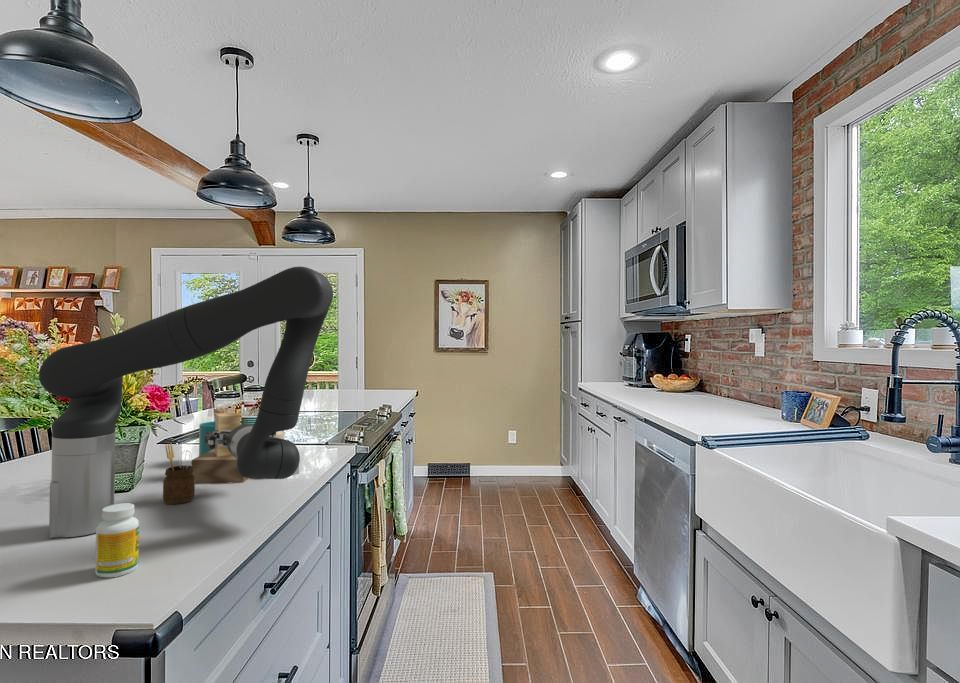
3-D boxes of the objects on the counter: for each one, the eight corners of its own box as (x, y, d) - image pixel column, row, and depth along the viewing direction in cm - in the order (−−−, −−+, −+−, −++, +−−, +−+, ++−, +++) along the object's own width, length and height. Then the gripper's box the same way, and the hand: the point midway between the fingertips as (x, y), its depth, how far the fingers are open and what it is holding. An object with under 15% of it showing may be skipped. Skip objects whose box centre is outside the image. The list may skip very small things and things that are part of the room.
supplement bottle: (91, 570, 79) (92, 506, 79) (133, 560, 83) (134, 499, 83) (100, 582, 75) (101, 515, 75) (143, 570, 79) (144, 507, 79)
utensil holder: (177, 506, 109) (178, 448, 109) (155, 502, 111) (155, 446, 111) (201, 498, 115) (201, 443, 115) (179, 495, 117) (179, 441, 117)
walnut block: (191, 484, 127) (191, 460, 127) (213, 471, 140) (213, 448, 140) (243, 484, 128) (243, 459, 128) (259, 470, 141) (260, 448, 141)
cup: (196, 471, 138) (196, 428, 138) (200, 461, 149) (201, 421, 149) (234, 468, 142) (234, 426, 142) (235, 458, 153) (236, 420, 153)
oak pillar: (217, 456, 130) (218, 416, 130) (214, 453, 134) (215, 413, 134) (239, 454, 133) (240, 415, 133) (235, 451, 137) (236, 412, 137)
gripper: (285, 423, 115) (267, 414, 128) (212, 429, 107) (201, 418, 120) (284, 458, 115) (266, 445, 128) (212, 466, 107) (201, 451, 120)
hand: (235, 432), depth 124 cm, fingers open, 8 cm apart
